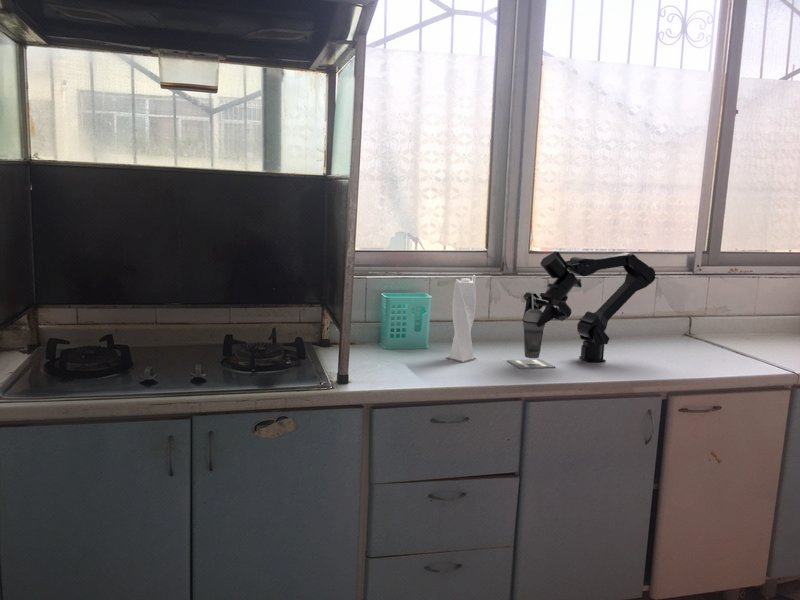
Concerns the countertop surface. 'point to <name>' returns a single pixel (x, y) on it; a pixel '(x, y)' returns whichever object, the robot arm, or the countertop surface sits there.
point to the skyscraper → (463, 319)
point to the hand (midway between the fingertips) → (530, 324)
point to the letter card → (530, 363)
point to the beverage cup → (532, 332)
